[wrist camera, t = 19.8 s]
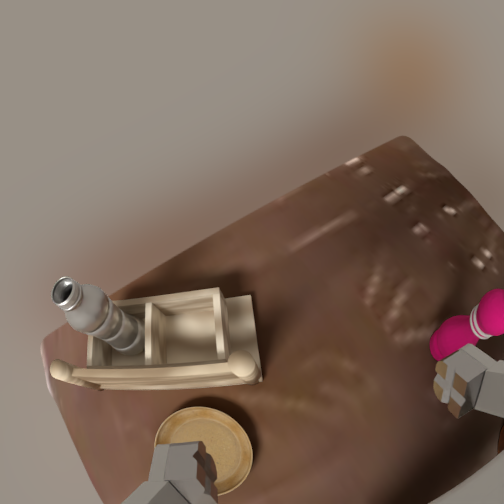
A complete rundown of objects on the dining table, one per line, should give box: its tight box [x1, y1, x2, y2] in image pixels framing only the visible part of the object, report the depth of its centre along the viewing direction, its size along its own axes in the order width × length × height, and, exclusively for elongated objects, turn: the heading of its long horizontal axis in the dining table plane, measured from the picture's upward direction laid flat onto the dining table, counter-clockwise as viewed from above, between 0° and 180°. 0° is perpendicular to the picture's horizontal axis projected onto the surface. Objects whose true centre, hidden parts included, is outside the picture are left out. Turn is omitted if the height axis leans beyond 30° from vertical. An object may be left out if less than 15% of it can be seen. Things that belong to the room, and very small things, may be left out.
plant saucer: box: [154, 407, 253, 496], centre depth 35 cm, size 15×15×3 cm
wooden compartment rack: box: [50, 287, 263, 391], centre depth 40 cm, size 14×30×12 cm, turn 97°
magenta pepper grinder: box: [430, 289, 504, 361], centre depth 31 cm, size 7×7×20 cm
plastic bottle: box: [51, 276, 145, 355], centre depth 36 cm, size 6×7×20 cm
